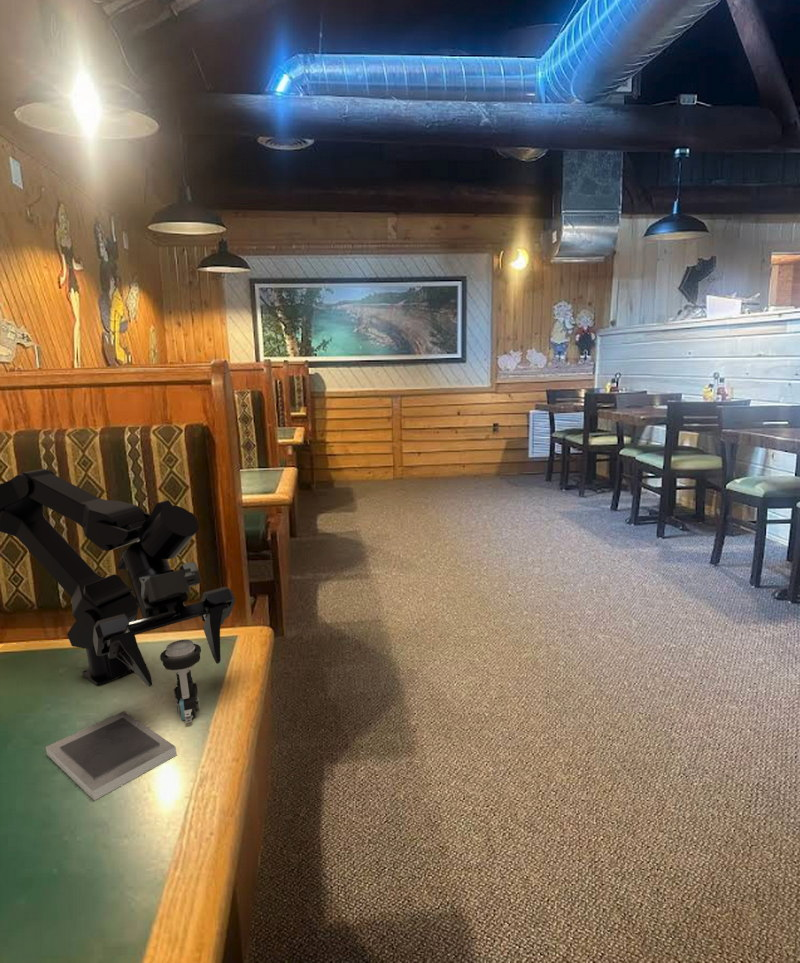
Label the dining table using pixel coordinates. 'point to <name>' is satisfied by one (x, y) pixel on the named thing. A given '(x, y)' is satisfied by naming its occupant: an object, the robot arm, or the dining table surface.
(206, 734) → the dining table surface
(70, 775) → the mounting plate
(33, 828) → the dining table surface
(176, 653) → the push button
